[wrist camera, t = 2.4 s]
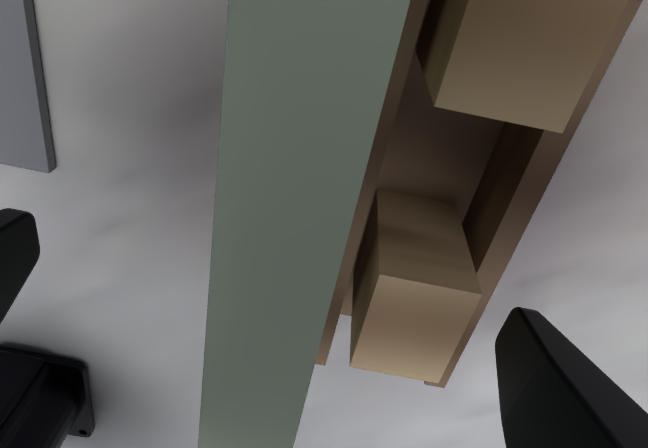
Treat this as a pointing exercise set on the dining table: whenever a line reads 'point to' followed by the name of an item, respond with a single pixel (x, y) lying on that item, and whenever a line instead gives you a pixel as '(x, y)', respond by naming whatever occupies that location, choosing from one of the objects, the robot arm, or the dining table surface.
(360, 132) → the green rectangular slab
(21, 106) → the mat
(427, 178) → the rack
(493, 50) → the offcut
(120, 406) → the dining table surface
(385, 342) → the offcut
